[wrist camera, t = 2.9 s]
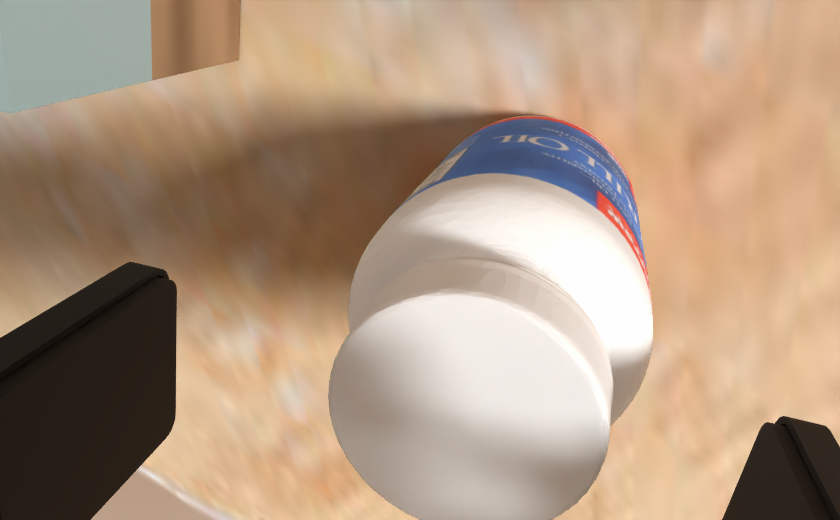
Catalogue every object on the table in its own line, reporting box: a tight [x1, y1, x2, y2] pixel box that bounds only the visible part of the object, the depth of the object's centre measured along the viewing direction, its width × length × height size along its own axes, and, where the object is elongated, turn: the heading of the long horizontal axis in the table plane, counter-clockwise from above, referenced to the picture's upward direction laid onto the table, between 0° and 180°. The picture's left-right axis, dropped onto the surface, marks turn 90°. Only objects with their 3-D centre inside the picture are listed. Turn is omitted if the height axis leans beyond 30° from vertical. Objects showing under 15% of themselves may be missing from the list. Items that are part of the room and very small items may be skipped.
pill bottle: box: [328, 115, 653, 520], centre depth 14 cm, size 6×5×10 cm
